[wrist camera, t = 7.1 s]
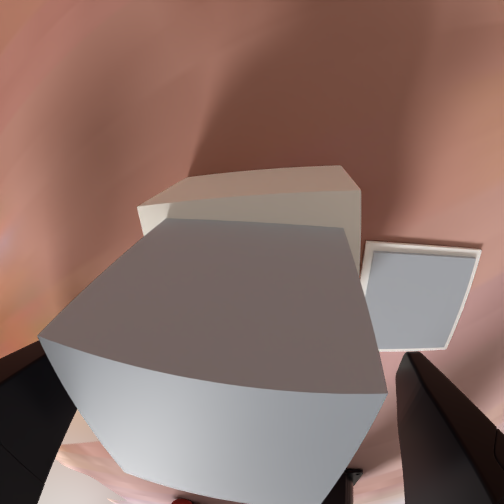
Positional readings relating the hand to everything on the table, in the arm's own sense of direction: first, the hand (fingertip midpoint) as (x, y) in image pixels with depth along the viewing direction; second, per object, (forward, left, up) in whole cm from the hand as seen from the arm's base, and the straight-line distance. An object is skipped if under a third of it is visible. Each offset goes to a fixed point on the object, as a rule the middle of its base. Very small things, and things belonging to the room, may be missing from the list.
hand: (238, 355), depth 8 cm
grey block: (0, 0, -3) cm, 3 cm away
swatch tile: (-3, -8, -8) cm, 11 cm away
